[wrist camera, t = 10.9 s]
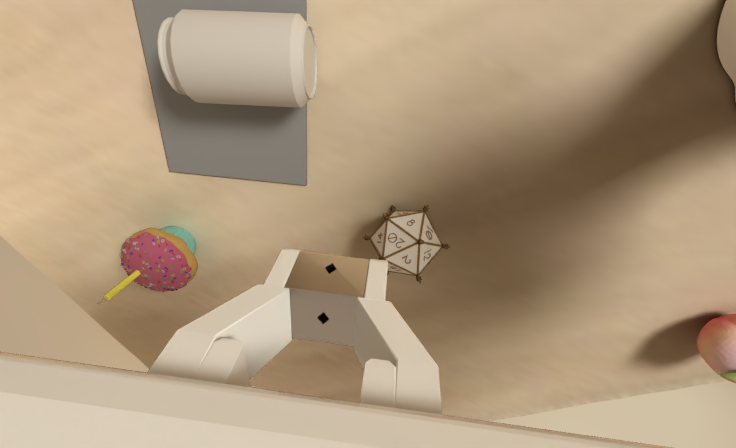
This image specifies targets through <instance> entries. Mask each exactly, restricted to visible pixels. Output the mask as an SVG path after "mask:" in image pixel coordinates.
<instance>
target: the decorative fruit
mask: <svg viewBox="0 0 736 448" xmlns="http://www.w3.org/2000/svg"><path fill="white" fill-rule="evenodd" d="M697 347H698V350H699V353H700V354H701V356H702V358H703V359H704V360H705V361H706V363H707V364H708V365H709V366H710V367H711V368H712V369H713V370H714V371H715V372H716V373H717V374H718V375H720V376H721V377H723V378H725V379H727V380H729V381H731V382H733V383H736V314H730V315H725V316H721V317H718V318H714V319H711V320H710V321H709V322H708V323H707V324H706V325H705V326H704V327H703V328H702V329H701V331H700V333H699V335H698V338H697Z"/></svg>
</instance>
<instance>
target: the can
mask: <svg viewBox="0 0 736 448" xmlns="http://www.w3.org/2000/svg"><path fill="white" fill-rule="evenodd" d="M157 47H158V57H159V61H160V65H161V68H162V71H163V73H164V75H165V78H166V80H167V81H168V82H169V84H170V85H171V87H172V88H173V89H174V90H175V91H176V92H178V93H179V94H182V95H188V96H189V97H190V98H191V99H192V100H193V101H195V102H199V103H211V104H233V105H255V106H277V107H299V108H302V107H303V106H304V105H305V104H306V103H307V102H308V101H309V100H310V99H312V98H313V97H314V93H315V89H316V82H317V51H316V42H315V36H314V32H313V29H312V27H311V25H310V24H308V23H307V22H306V21H305V20H304V18H303V17H302V16H301V15H300V14H297V13H270V12H243V11H216V10H188V9H182V10H181V11H180V12H179V13H178V14H176V16H175V17H168V18H167V19H165V20H164V21H163V22H162V24H161V27H160V29H159V31H158V40H157Z"/></svg>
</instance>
